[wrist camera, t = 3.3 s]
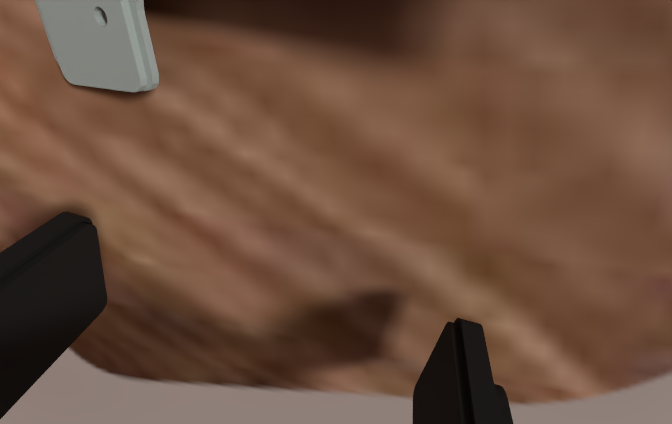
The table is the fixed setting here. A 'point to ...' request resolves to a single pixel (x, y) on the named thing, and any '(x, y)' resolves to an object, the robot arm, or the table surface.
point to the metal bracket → (101, 43)
